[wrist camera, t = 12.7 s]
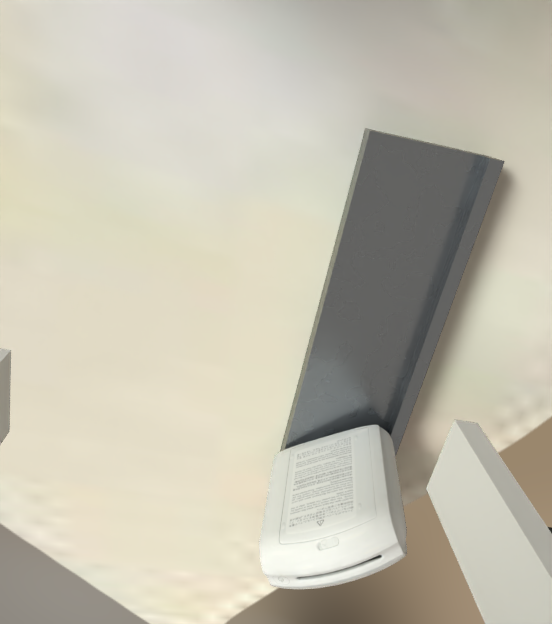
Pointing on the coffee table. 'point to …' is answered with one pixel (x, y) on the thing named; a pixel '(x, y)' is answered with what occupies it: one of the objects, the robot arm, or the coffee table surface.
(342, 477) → the photo printer
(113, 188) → the coffee table surface
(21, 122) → the coffee table surface
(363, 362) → the rail
